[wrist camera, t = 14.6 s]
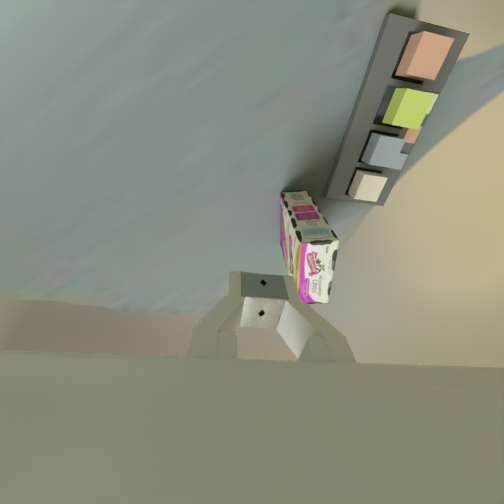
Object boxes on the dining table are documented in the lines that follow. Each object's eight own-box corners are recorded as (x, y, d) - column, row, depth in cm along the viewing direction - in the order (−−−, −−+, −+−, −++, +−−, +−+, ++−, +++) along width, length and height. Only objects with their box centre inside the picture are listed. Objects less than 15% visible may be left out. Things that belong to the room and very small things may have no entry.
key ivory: (354, 168, 39) (364, 174, 36) (376, 171, 40) (387, 177, 37) (345, 191, 41) (353, 198, 38) (366, 194, 42) (376, 201, 39)
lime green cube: (391, 88, 32) (407, 88, 29) (417, 94, 32) (435, 94, 29) (378, 121, 34) (391, 124, 31) (403, 126, 35) (418, 129, 32)
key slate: (368, 131, 36) (380, 135, 33) (392, 135, 37) (406, 139, 34) (358, 158, 38) (368, 164, 35) (380, 162, 39) (392, 168, 36)
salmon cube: (406, 36, 30) (424, 30, 27) (433, 43, 31) (454, 38, 28) (391, 75, 32) (406, 73, 29) (416, 81, 33) (434, 80, 30)
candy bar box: (278, 191, 41) (299, 241, 28) (306, 189, 41) (342, 238, 28) (278, 245, 47) (296, 307, 34) (303, 243, 47) (330, 304, 34)
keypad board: (385, 15, 29) (391, 12, 28) (462, 35, 30) (471, 33, 29) (323, 195, 42) (326, 198, 41) (379, 203, 43) (384, 206, 42)
